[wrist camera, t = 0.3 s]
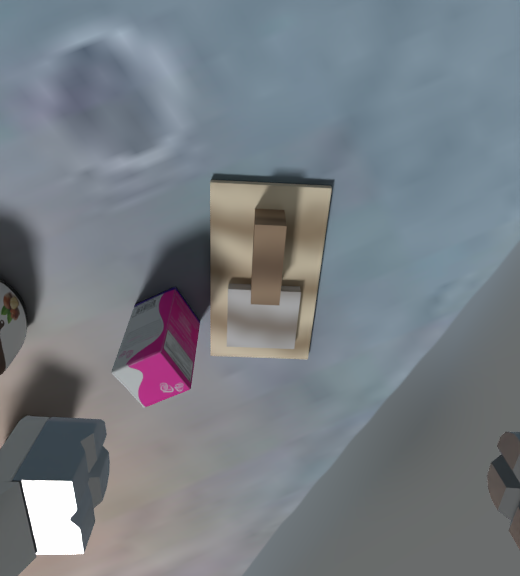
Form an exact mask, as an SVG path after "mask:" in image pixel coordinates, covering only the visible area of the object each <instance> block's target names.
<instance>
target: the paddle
mask: <svg viewBox="0 0 520 576" xmlns="http://www.w3.org/2000/svg"><path fill="white" fill-rule="evenodd" d="M286 229H287V225H286V218H285V210H275V209H255V217H254V236H253V255H252V274H251V284H228V313H227V347H251V348H278V349H294V346H295V338H296V330H297V321H298V313H299V305H300V296H301V289H300V286H281V283H282V272H283V261H284V250H285V239H286Z"/></svg>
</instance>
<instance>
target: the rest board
mask: <svg viewBox="0 0 520 576" xmlns="http://www.w3.org/2000/svg"><path fill="white" fill-rule="evenodd" d="M331 190H332V188H331V186H326V185H306V184H286V183H266V182H246V181H226V180H211V182H210V264H211V356H231V357H259V358H287V359H308V353H309V346H310V339H311V332H312V325H313V318H314V311H315V304H316V297H317V290H318V282H319V275H320V268H321V261H322V254H323V247H324V240H325V233H326V226H327V219H328V212H329V204H330V197H331ZM255 209H275V210H285V218H286V225H287V229H286V239H285V250H284V261H283V272H282V283H281V286H300V289H301V296H300V305H299V313H298V321H297V330H296V338H295V346H294V349H278V348H251V347H227V313H228V284H251V274H252V255H253V236H254V217H255Z"/></svg>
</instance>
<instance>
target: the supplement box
mask: <svg viewBox="0 0 520 576" xmlns="http://www.w3.org/2000/svg"><path fill="white" fill-rule="evenodd" d="M199 325H200V321H199V320H198V318H197V317H196V315H195V314H194V312H193V311H192V310H191V308H190V307H189V305H188V304H187V302H186V301H185V300H184V298H183V297H182V295H181V294H180V292H179V291H178V290H177V288H176V287H173V288H171V289H169V290H166V291H164V292H162V293H160V294H158V295H155V296H153V297H151V298H149V299H146V300H144V301H142V302H140V303H138V304H135V306H134V309H133V312H132V315H131V318H130V321H129V323H128V326H127V329H126V332H125V335H124V338H123V341H122V343H121V346H120V349H119V352H118V355H117V358H116V360H115V363H114V366H113V369H112V372H111V373H112V374H113V375H114V376H115V377H116V378H117V379H118V380H119V381H120V382H121V383H122V384H123V385H124V386H125V387H126V389H127V390H128V391H129V392H130V393H131V394H132V395H133V396H134V397H135V399H136V400H137V401H138V402H139V403H140V404H141V405H142V406H143V407H147V406H150V405H152V404H155V403H157V402H160V401H162V400H165V399H167V398H169V397H172V396H174V395H177V394H180V393H182V392H185V391H187V390H190V389H191V383H192V375H193V368H194V361H195V353H196V346H197V339H198V332H199Z"/></svg>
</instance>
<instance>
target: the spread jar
mask: <svg viewBox="0 0 520 576" xmlns="http://www.w3.org/2000/svg"><path fill="white" fill-rule="evenodd" d="M26 332H27V312H26V308H25V305H24V302H23V300H22V299H21V297H20V296H19V294H18V293H17V292H16V291H15V290H14V289H13V288H12V287H11V286H9V285H8V284H6V283H5V282H3V281H0V375H1V374H3V372H4V371H5V370H6V369H7V368H8V367H9V365H10V364H11V362H12V361H13V359H14V358H15V356H16V355H17V354H18V352H19V350H20V349H21V347H22V345H23V343H24V340H25V337H26Z"/></svg>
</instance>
